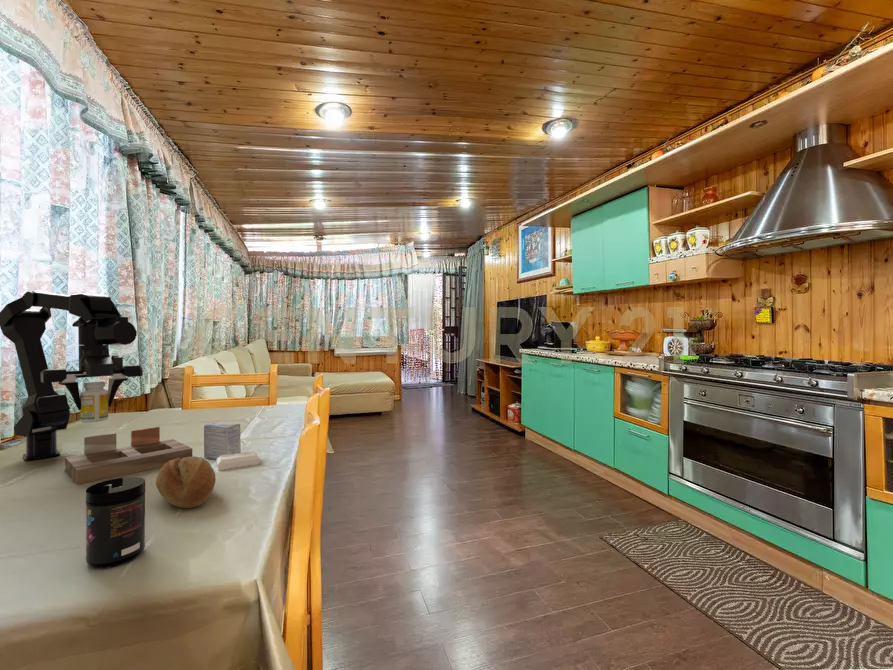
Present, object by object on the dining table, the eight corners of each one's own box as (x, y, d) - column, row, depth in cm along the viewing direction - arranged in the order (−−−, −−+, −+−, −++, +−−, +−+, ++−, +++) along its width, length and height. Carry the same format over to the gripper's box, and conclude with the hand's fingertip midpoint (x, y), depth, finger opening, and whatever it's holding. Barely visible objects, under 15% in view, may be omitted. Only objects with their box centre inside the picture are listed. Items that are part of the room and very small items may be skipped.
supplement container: (121, 542, 64) (121, 475, 64) (156, 548, 63) (156, 479, 62) (72, 566, 58) (72, 491, 58) (110, 574, 56) (110, 496, 56)
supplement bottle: (82, 423, 100) (81, 383, 100) (78, 421, 103) (77, 382, 103) (110, 420, 104) (110, 381, 104) (106, 417, 107) (105, 380, 107)
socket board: (65, 470, 98) (65, 440, 98) (173, 450, 114) (173, 424, 114) (77, 484, 89) (77, 451, 89) (192, 460, 105) (192, 432, 105)
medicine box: (241, 456, 109) (241, 423, 109) (227, 461, 105) (227, 426, 105) (218, 453, 112) (218, 421, 111) (203, 458, 107) (203, 424, 107)
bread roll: (161, 520, 72) (161, 474, 72) (151, 494, 84) (151, 454, 83) (223, 505, 78) (223, 462, 78) (206, 483, 90) (206, 446, 90)
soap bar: (259, 465, 103) (259, 455, 103) (217, 472, 98) (217, 460, 98) (256, 460, 107) (256, 450, 107) (216, 466, 102) (216, 455, 102)
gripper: (46, 346, 91) (47, 418, 91) (148, 344, 105) (149, 406, 105) (39, 346, 99) (40, 412, 99) (136, 344, 113) (137, 402, 113)
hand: (94, 408), depth 104 cm, fingers closed on supplement bottle, 5 cm apart
